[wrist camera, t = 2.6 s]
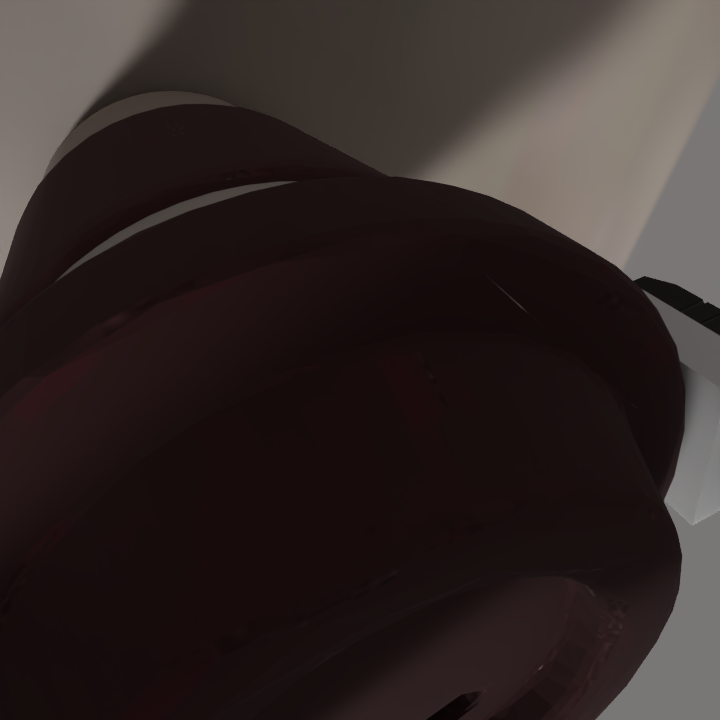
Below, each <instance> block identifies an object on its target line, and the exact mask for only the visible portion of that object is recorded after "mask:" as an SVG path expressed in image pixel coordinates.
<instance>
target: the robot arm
mask: <svg viewBox="0 0 720 720" xmlns="http://www.w3.org/2000/svg"><path fill="white" fill-rule="evenodd" d="M633 282H635V283H636V284H637V285H638V286H639V287H640V288H641V289H642V290H643V291H644V293H645V294H646V295H647V297H648V298H649V299H650V300H651V302H652V303H653V304H654V306H655V307H656V308H657V309H658V311H659V313H660V315H661V317H662V319H663V321H664V323H665V325H666V327H667V329H668V330H669V332H670V334H671V336H672V338H673V340H674V342H675V344H676V346H677V350H678V355H679V360H680V365H681V370H682V375H683V380H684V385H685V431H684V435H683V440H682V444H681V449H680V453H679V458H678V462H677V467H676V471H675V476H674V478H673V481H672V483H671V485H670V487H669V490H668V492H667V494H666V497H665V499H664V501H666V502H667V503H668V504H669V505H670V506H671V507H672V508H673V509H674V510H675V511H676V512H678V513H679V514H680V515H681V516H682V517H683V518H684V519H685V520H686V521H687V522H688V523H690V524H691V525H694V524H696V523H698V522H700V521H702V520H704V519H705V518H707V517H709V516H711V515H713V514H715V513H716V512H718V511H720V309H719V308H717V307H715V306H714V305H712V304H710V303H708V302H707V303H704V302H703V299H701V298H699V297H698V296H696V295H694V294H692V293H690V292H688V291H687V290H685V289H683V288H681V287H680V286H678V285H675V284H672V283H668V282H664V281H660V280H656V279H653V278H649V277H645V276H644V277H641V278H639V279H637V280H634V281H633Z"/></svg>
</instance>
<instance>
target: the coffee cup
mask: <svg viewBox="0 0 720 720" xmlns="http://www.w3.org/2000/svg"><path fill="white" fill-rule="evenodd" d="M684 431H685V385H684V380H683V375H682V370H681V365H680V360H679V355H678V350H677V346H676V344H675V342H674V340H673V338H672V336H671V334H670V332H669V330H668V329H667V327H666V325H665V323H664V321H663V319H662V317H661V315H660V313H659V311H658V309H657V308H656V307H655V306H654V304H653V303H652V302H651V300H650V299H649V298H648V297H647V295H646V294H645V293H644V291H643V290H642V289H641V288H640V287H639V286H638V285H637V284H636V283H635V282H633V281H632V280H631V279H630V278H629V277H628V276H627V275H626V274H624V273H623V272H622V271H621V270H620V269H619V268H618V267H617V266H615V265H614V264H612V263H610V262H609V261H607V260H605V259H604V258H602V257H601V256H599V255H597V254H596V253H594V252H592V251H591V250H589V249H587V248H586V247H584V246H582V245H581V244H579V243H577V242H575V241H574V240H572V239H570V238H569V237H567V236H565V235H563V234H562V233H560V232H558V231H557V230H555V229H553V228H552V227H550V226H548V225H546V224H545V223H543V222H541V221H540V220H538V219H536V218H534V217H533V216H531V215H529V214H528V213H526V212H524V211H522V210H520V209H518V208H516V207H513V206H511V205H509V204H506V203H504V202H502V201H499V200H497V199H495V198H492V197H490V196H487V195H484V194H480V193H477V192H473V191H470V190H466V189H462V188H459V187H455V186H451V185H446V184H441V183H436V182H430V181H423V180H416V179H409V178H402V177H388V176H386V175H384V174H382V173H381V172H379V171H377V170H375V169H373V168H371V167H369V166H367V165H365V164H363V163H361V162H360V161H358V160H356V159H354V158H352V157H350V156H348V155H346V154H344V153H342V152H340V151H339V150H337V149H335V148H333V147H331V146H329V145H327V144H325V143H323V142H321V141H319V140H318V139H316V138H314V137H312V136H310V135H308V134H306V133H304V132H302V131H300V130H298V129H297V128H295V127H293V126H291V125H289V124H287V123H285V122H283V121H281V120H278V119H276V118H273V117H270V116H268V115H265V114H262V113H259V112H256V111H252V110H248V109H244V108H240V107H236V106H234V105H232V104H230V103H228V102H226V101H223V100H220V99H218V98H215V97H211V96H207V95H204V94H199V93H193V92H186V91H156V92H149V93H143V94H139V95H135V96H131V97H128V98H125V99H122V100H119V101H117V102H115V103H113V104H110V105H108V106H106V107H104V108H102V109H101V110H99V111H97V112H96V113H94V114H92V115H91V116H90V117H88V118H87V119H86V120H85V121H83V122H82V123H81V124H79V125H78V126H77V127H76V128H75V129H74V130H73V131H72V132H71V133H70V134H69V135H68V136H67V137H66V138H65V140H64V141H63V142H62V144H61V145H60V146H59V148H58V149H57V151H56V152H55V154H54V156H53V157H52V159H51V161H50V163H49V165H48V167H47V169H46V172H45V175H44V177H43V180H42V181H41V183H40V184H39V185H38V187H37V188H36V190H35V192H34V194H33V195H32V197H31V199H30V201H29V203H28V205H27V207H26V209H25V211H24V213H23V215H22V217H21V219H20V222H19V224H18V226H17V229H16V232H15V235H14V238H13V241H12V245H11V248H10V251H9V254H8V257H7V260H6V263H5V266H4V270H3V273H2V276H1V279H0V720H595V719H596V718H597V717H598V716H599V715H600V714H601V713H602V712H603V711H604V710H605V709H606V707H607V706H608V705H609V704H610V703H611V702H612V701H613V700H614V699H615V698H616V697H617V696H618V694H619V693H620V692H621V691H622V690H623V689H624V688H625V687H626V686H627V684H628V683H629V681H630V680H631V678H632V677H633V675H634V674H635V673H636V671H637V669H638V668H639V667H640V665H641V664H642V662H643V661H644V659H645V658H646V656H647V655H648V654H649V652H650V651H651V649H652V648H653V646H654V645H655V643H656V642H657V640H658V638H659V636H660V634H661V632H662V630H663V628H664V626H665V624H666V622H667V621H668V619H669V617H670V615H671V613H672V611H673V607H674V604H675V600H676V597H677V594H678V591H679V585H680V573H681V563H682V553H681V548H680V543H679V538H678V534H677V531H676V528H675V525H674V523H673V521H672V519H671V516H670V514H669V512H668V510H667V508H666V506H665V504H664V499H665V497H666V494H667V492H668V490H669V487H670V485H671V483H672V481H673V478H674V476H675V471H676V467H677V462H678V458H679V453H680V449H681V444H682V440H683V435H684Z"/></svg>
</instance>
